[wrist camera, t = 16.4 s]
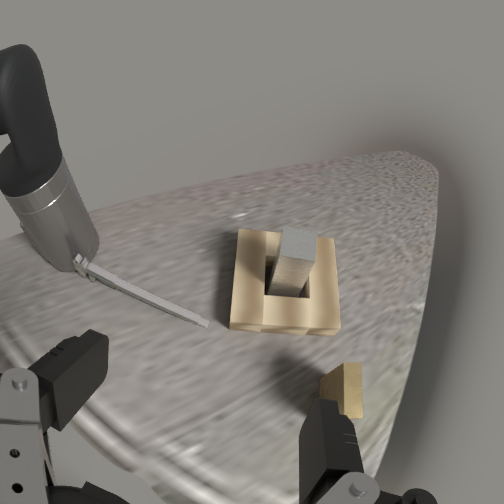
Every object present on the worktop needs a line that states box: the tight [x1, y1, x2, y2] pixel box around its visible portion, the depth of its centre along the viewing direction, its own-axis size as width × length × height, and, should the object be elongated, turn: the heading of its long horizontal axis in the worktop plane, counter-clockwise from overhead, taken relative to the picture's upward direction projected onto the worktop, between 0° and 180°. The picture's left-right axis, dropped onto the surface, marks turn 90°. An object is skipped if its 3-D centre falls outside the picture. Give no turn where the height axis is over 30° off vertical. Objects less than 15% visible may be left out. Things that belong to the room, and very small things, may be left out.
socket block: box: [229, 229, 341, 336], centre depth 44 cm, size 14×14×3 cm
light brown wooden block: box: [320, 363, 362, 420], centre depth 34 cm, size 2×6×9 cm, turn 177°
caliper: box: [73, 253, 210, 328], centre depth 40 cm, size 20×1×6 cm, turn 72°
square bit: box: [267, 226, 317, 298], centre depth 41 cm, size 4×4×11 cm
